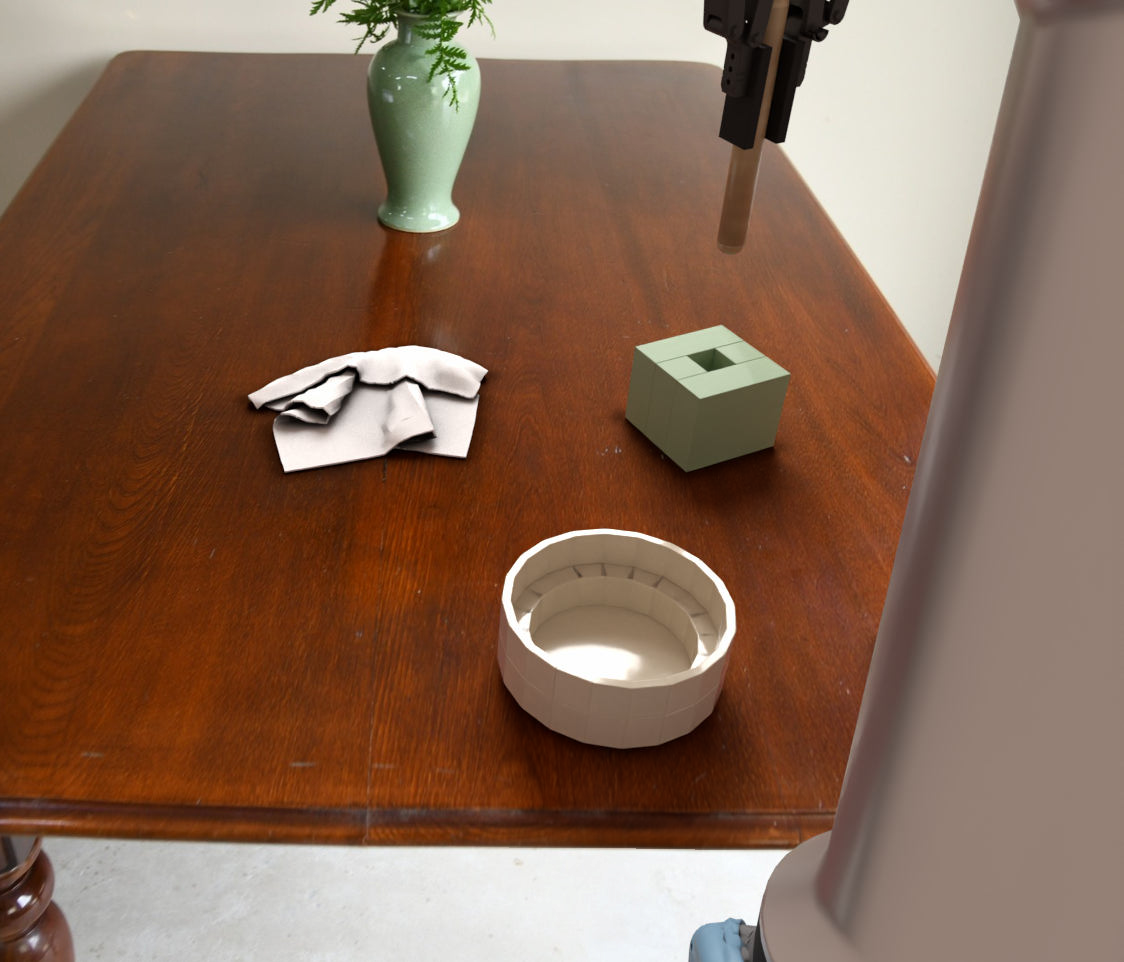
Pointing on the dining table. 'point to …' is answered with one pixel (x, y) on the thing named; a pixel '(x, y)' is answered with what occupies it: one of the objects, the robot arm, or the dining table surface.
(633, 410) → the stand
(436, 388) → the cloth
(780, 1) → the stick
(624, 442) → the dining table surface
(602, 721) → the bowl
